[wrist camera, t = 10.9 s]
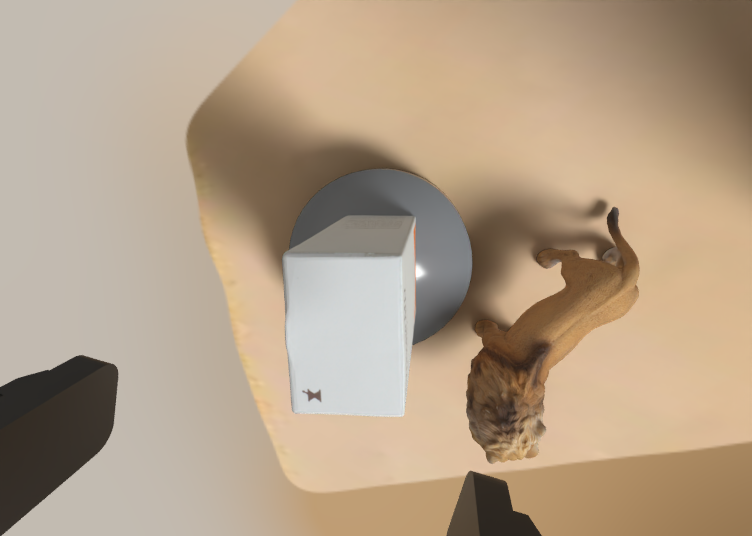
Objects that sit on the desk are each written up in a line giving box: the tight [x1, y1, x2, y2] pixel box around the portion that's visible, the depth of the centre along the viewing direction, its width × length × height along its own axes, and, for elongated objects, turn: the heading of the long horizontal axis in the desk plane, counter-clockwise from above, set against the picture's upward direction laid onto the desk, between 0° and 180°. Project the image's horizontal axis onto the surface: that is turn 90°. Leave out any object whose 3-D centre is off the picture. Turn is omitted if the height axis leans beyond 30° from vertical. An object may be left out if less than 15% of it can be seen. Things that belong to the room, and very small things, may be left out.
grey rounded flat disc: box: [289, 168, 472, 345], centre depth 28 cm, size 11×11×3 cm
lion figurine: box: [466, 207, 640, 464], centre depth 25 cm, size 15×5×9 cm, turn 150°
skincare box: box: [282, 215, 416, 417], centre depth 21 cm, size 6×4×12 cm
